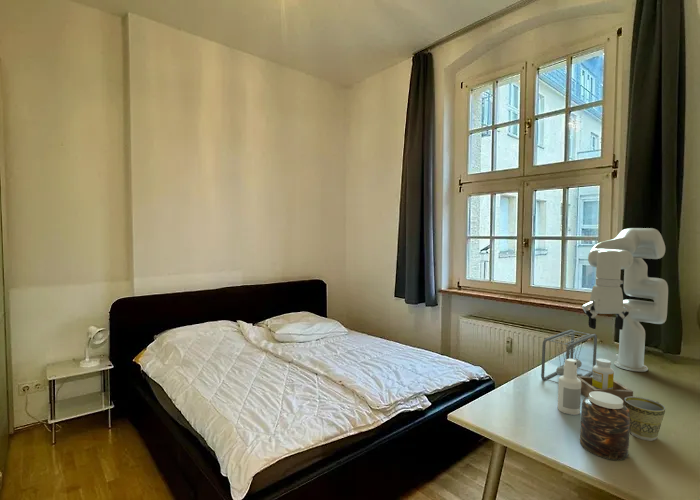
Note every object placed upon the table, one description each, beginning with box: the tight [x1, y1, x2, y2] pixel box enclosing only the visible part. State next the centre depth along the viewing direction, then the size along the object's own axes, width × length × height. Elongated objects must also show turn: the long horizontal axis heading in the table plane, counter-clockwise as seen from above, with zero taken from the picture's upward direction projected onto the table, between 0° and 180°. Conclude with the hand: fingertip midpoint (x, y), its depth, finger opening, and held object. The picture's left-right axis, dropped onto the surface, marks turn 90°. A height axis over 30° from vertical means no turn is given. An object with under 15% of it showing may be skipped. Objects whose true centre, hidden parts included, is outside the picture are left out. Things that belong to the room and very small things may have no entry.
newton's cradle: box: [540, 329, 598, 385], centre depth 163 cm, size 30×10×18 cm, turn 129°
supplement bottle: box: [591, 358, 615, 390], centre depth 144 cm, size 7×7×13 cm
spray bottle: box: [557, 357, 582, 416], centre depth 132 cm, size 7×7×18 cm
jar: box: [579, 391, 630, 461], centre depth 109 cm, size 12×12×15 cm
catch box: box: [577, 375, 634, 406], centre depth 144 cm, size 13×13×5 cm
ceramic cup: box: [624, 395, 666, 442], centre depth 117 cm, size 13×10×10 cm
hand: (605, 328), depth 143 cm, fingers open, 9 cm apart
